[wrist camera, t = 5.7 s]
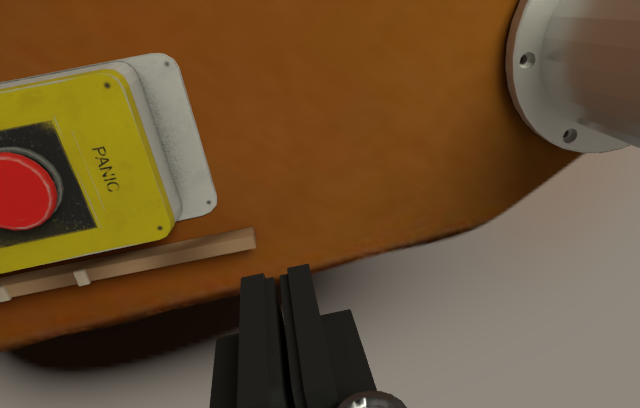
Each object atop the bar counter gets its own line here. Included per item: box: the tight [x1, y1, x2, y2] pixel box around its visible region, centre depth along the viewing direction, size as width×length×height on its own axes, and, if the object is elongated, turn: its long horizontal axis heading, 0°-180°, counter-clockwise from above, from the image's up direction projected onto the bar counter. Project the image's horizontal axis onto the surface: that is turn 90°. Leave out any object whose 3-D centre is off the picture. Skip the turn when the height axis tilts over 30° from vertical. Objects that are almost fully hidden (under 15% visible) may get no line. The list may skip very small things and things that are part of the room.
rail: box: [0, 227, 256, 302], centre depth 27 cm, size 20×1×1 cm, turn 99°
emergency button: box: [0, 53, 217, 274], centre depth 24 cm, size 9×4×15 cm
